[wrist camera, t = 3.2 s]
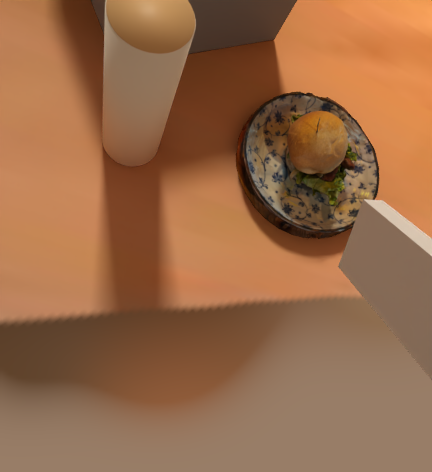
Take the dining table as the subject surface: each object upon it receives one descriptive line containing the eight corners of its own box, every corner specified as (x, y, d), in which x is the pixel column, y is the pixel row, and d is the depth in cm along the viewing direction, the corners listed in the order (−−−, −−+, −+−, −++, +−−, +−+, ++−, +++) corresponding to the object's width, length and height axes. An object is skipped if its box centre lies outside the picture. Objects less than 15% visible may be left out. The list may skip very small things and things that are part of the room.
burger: (354, 259, 32) (426, 236, 25) (217, 208, 30) (253, 167, 23) (375, 133, 36) (442, 83, 29) (254, 80, 34) (295, 12, 27)
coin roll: (113, 172, 28) (123, 59, 17) (94, 121, 29) (92, -21, 17) (166, 158, 30) (209, 45, 18) (147, 110, 30) (177, -29, 19)
